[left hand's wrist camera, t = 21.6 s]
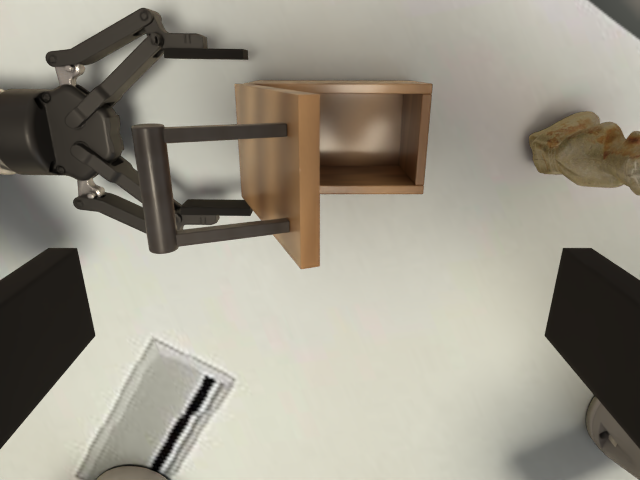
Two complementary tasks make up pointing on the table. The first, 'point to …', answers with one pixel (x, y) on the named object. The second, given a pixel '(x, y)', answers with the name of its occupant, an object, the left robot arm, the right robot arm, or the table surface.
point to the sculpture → (588, 152)
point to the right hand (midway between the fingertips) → (249, 135)
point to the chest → (369, 133)
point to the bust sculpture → (131, 474)
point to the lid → (245, 173)
